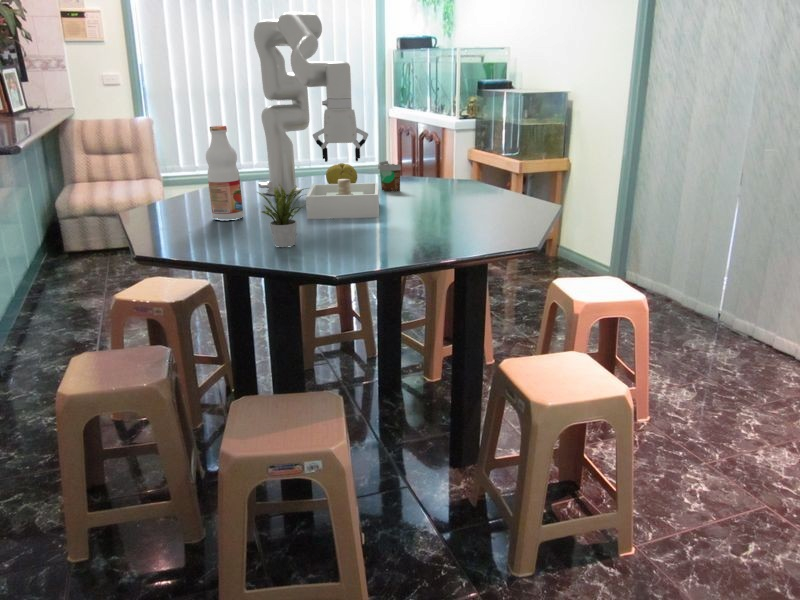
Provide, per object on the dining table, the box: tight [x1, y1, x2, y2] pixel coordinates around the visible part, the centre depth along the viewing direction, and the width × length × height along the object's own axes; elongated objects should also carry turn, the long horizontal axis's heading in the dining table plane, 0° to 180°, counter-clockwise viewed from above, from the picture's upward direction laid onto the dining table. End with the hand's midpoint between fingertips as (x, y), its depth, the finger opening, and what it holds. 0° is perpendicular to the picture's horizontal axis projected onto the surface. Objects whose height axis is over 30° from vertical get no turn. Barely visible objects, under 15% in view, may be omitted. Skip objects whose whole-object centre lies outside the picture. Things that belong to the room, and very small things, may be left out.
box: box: [305, 182, 380, 220], centre depth 208 cm, size 22×22×7 cm
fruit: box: [325, 162, 358, 184], centre depth 245 cm, size 11×12×10 cm
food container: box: [377, 160, 402, 192], centre depth 243 cm, size 12×6×10 cm, turn 25°
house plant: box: [256, 184, 309, 247], centre depth 166 cm, size 14×14×16 cm
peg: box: [338, 179, 351, 195], centre depth 208 cm, size 4×4×10 cm
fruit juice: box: [205, 125, 244, 219], centre depth 198 cm, size 9×9×28 cm
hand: (341, 161), depth 205 cm, fingers open, 9 cm apart
